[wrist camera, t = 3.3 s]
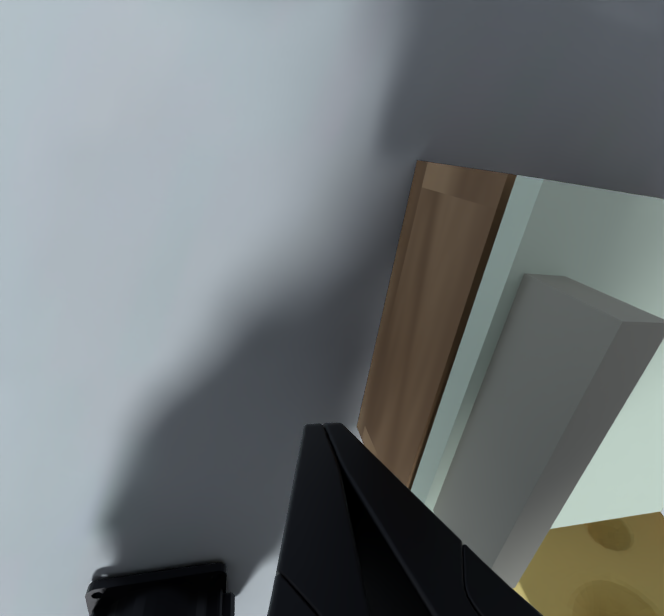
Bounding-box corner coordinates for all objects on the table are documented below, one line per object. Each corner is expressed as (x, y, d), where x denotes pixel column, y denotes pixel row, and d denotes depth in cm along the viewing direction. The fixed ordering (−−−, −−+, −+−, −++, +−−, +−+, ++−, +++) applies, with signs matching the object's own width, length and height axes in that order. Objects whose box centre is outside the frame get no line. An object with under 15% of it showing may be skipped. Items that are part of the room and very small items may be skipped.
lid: (397, 528, 13) (442, 639, 10) (516, 175, 8) (667, 197, 5) (643, 494, 16) (728, 571, 13) (833, 227, 11) (1032, 259, 8)
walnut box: (356, 426, 17) (394, 520, 13) (417, 160, 12) (508, 173, 8) (554, 415, 20) (636, 488, 16) (663, 200, 16) (820, 225, 11)
